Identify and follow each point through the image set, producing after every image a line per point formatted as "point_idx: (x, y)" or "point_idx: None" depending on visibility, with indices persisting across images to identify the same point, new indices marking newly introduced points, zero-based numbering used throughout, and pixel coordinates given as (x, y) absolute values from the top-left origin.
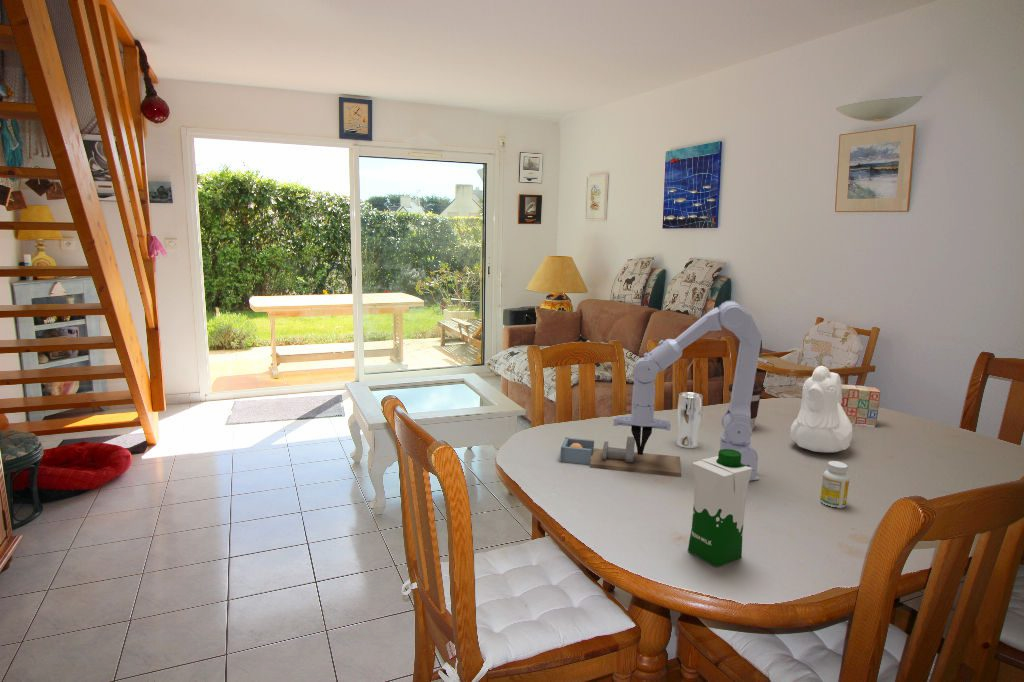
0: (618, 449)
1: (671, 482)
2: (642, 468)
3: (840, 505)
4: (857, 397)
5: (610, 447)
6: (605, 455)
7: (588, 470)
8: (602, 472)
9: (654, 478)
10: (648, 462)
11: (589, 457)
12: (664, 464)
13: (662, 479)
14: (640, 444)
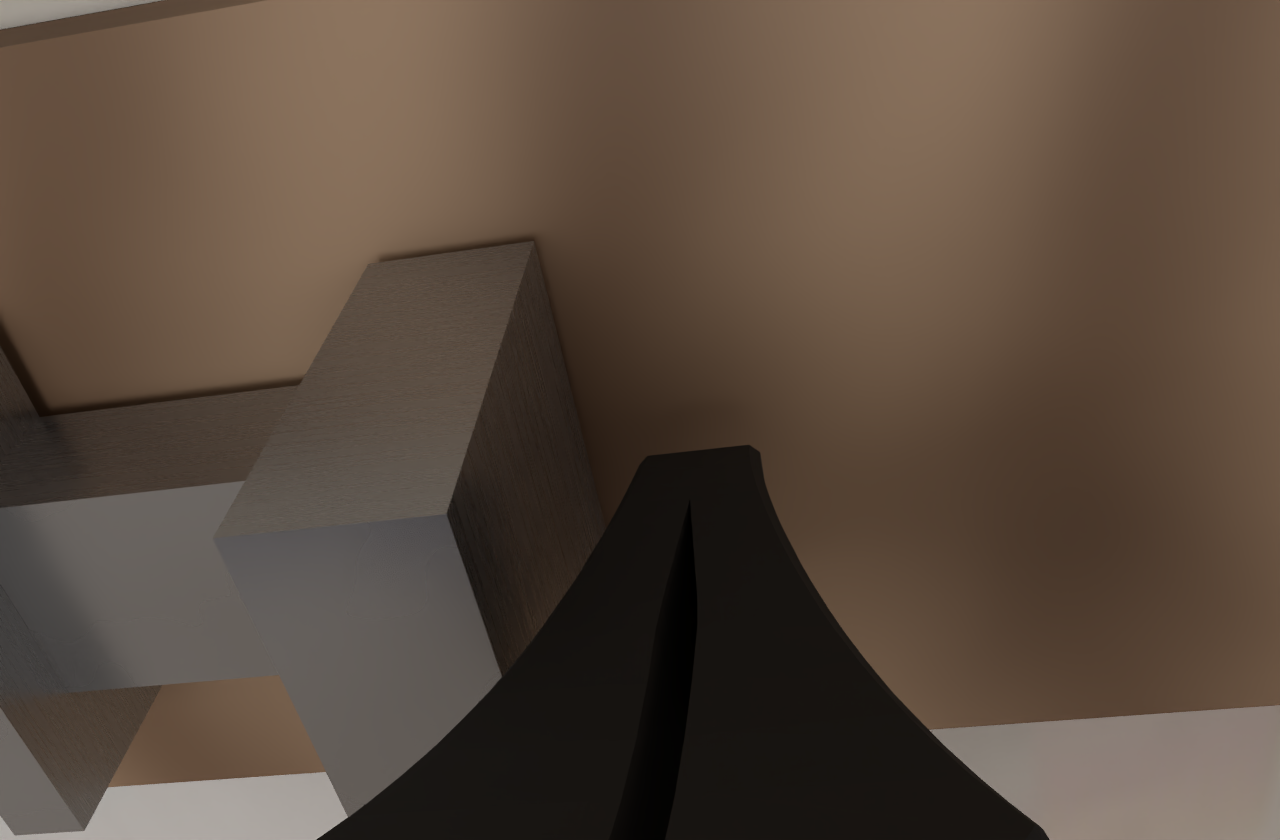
0: (223, 561)
1: (1258, 830)
2: None
3: None
4: None
5: (17, 517)
6: (126, 723)
7: (114, 822)
8: (298, 823)
9: (1014, 791)
10: (897, 463)
11: None
12: (1229, 449)
13: (1132, 788)
14: (681, 553)
